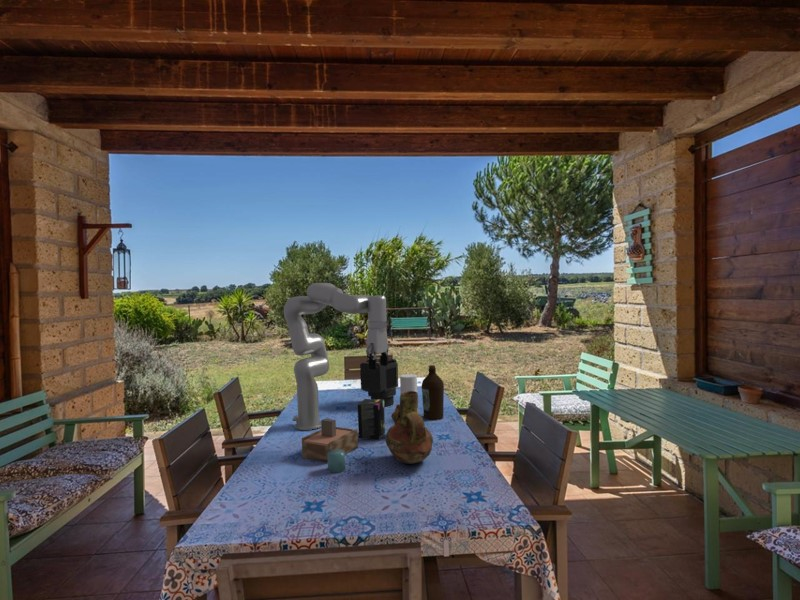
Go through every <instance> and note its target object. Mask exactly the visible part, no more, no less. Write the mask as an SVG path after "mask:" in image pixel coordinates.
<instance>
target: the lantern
mask: <svg viewBox="0 0 800 600" xmlns="http://www.w3.org/2000/svg"><path fill="white" fill-rule="evenodd" d="M365 354H366V355H367V353H365ZM366 359H367V360H365V361H364V362H360V364H359V368H360V369H359V371H360V389H361V390H362V391H363V392H367V395H368V397H370V399H384V408H389V407H392V406H393V404H394V403H395V401H394V400H395V399H394V398H395V397H394V396H396V395H397V388H399V363H398V361H397V359H395V358H390V357H389V355H388V365H387V366H384V365H381V364H380V357H376V358H375V359H376V369H375V370H373V369H369V359H368V357H367V356H366ZM391 405H392V406H391ZM388 406H389V407H388Z"/></svg>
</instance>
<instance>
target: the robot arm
mask: <svg viewBox="0 0 800 600" xmlns="http://www.w3.org/2000/svg"><path fill="white" fill-rule="evenodd" d="M283 306H284V307H283V315H284V319H285V321H286V325H287V327H288V332H289V338H290V341H291V346H292V351H293V353H294V354H295V355H296V356H302V357H303V356H307V355H310V356H309V357H303V358H300V359H298V360H297V361H296V362H295V364H294V366H293V372H294V376H295V377H294V378H295V382H296V384H295V385H296V396H297V397H296V400H297V403H296V404H297V415H293V417H292V421H293V422H295V424H294V429H296V430H297V429H299V430H298V431H312V429H314V430H318V429H320V428H321V420H320V406H319V387H318V383H317V381H316V380H315V378H317V377H321V376H324V375H325V374H327V373H328V372H329V369H330V361H329V356H328V353H327V347H326V343H325V340H324V339H323V337H322V336H321V335H320V334H319V333H315V332H314V333H310V332H309V328H308V324H307V322H306V320H305V319H304V318H303V317H302V315H313V314H317V313H319V312H321V311H322V310H324V309H325V308H326V307H327V306H330V307H332V308H334V309H335V311H339V312H343V313H347V314H349V315H356V314H366V313H367V315H368V316H367V318H368V320H367V321H368V322H367V323H368V327H367V328H368V329H367V335H366V336H367V337H366V349H365V352H366V353H367V354H366V353H365V354H366V358H367V357H368V359H369V369H373V370H375V369H376V359H375V358H377V355H379V354H380V357H379V358H380V364H381V365H384V366H387V365H388V356H389V351H390V350H389V349H390V344H389V343H388V333H387V328H388V326H387V325H388V324H387V321H388V320H387V298H386V296H385V295H368V294H358V295H357V294H356V295H351V294H347V293H344V292H343V290H342V288H339V287H337V286H336V285H335V284H332V283H330V282H315V283H314V282H313V283H311V284H309V286H308V287H307V289H306V295H298V296H293V297H290V298H288V299H287V300H286V302H285V304H284V305H283ZM317 428H318V429H317Z"/></svg>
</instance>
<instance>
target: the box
mask: <svg viewBox="0 0 800 600" xmlns="http://www.w3.org/2000/svg"><path fill="white" fill-rule="evenodd" d="M336 429H339V430H347V431H351V432H349V433H347V434H345V435H343V436H341V437H339V438H337V439H335V440H333V441H331V442H329V446H323V445H317V444H310V443H304V440H306V439H308V438H310V437H312V436H314V435H316V434H318V433H321V432H322V430H321V429H319V430H317V431H315V432H312V433H310V434H309V435H306V436H304V437H301V457H302V459H305V458H306V460H310V459H311V461H317V462H320V463H321V462H322V463H327V464H328V457H327V453H328V452H329V451H331V450H336V449H340V450H344V451H345V456H346V455H347V454H349V453H351V452H353V451H354V450H356V449H358V448H359V431H358V428H355V429H353V428H345V427H339V426H336Z"/></svg>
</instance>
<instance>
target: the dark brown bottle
mask: <svg viewBox="0 0 800 600" xmlns="http://www.w3.org/2000/svg"><path fill="white" fill-rule="evenodd" d="M444 387H445V385H444V380H443V379H442V378H441V377H440V376H439V375H438V374H437V369H436V365H435V364H429V365H428V374H427V375H426V376H425V378H424V379H423V380H422V382H421V396H422V397H421V398H422V410H423V418H424V420H427V419H429V420H428V421H438V420H437V419H439V420H442V419H444V400H445V399H444V397H445V392H444V391H445V388H444Z"/></svg>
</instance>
